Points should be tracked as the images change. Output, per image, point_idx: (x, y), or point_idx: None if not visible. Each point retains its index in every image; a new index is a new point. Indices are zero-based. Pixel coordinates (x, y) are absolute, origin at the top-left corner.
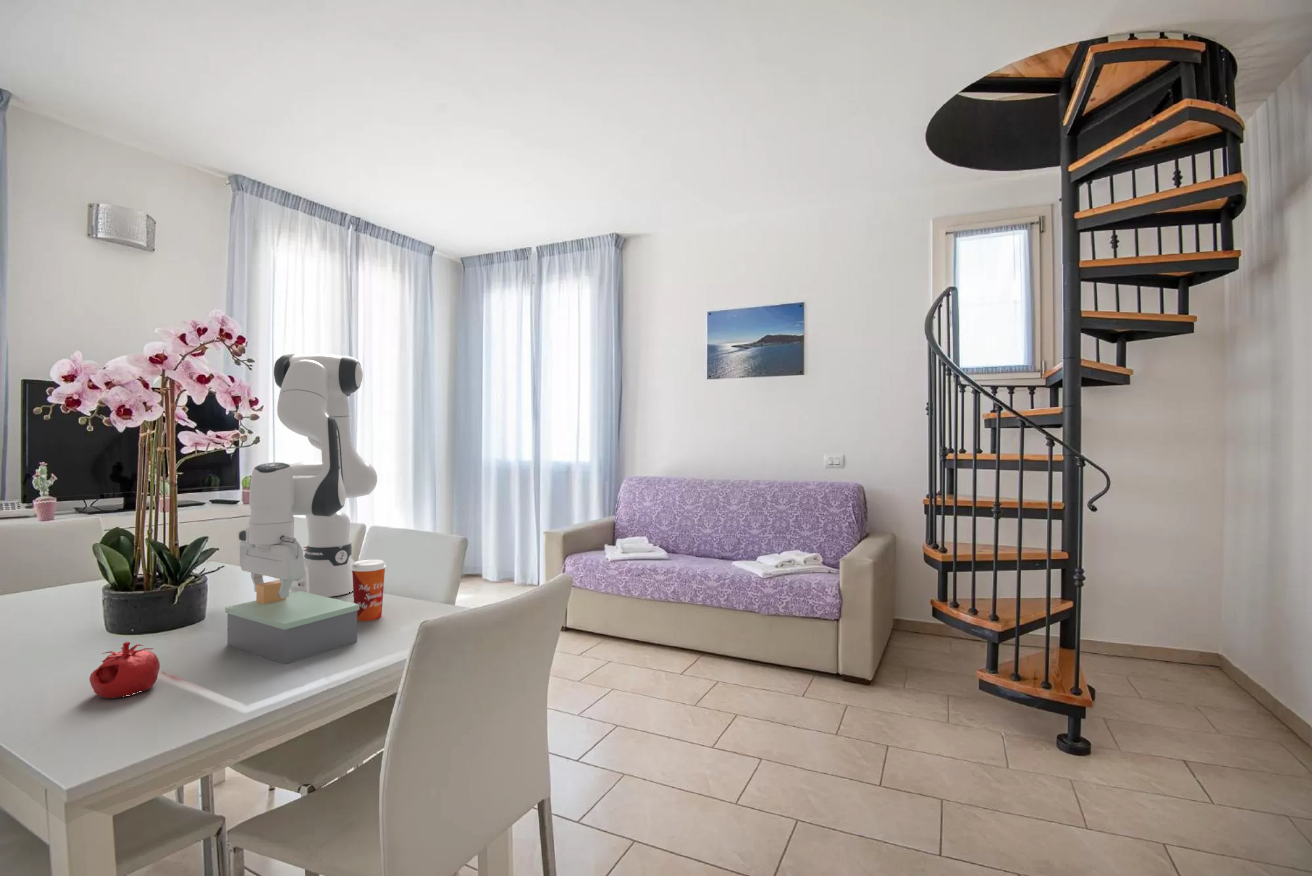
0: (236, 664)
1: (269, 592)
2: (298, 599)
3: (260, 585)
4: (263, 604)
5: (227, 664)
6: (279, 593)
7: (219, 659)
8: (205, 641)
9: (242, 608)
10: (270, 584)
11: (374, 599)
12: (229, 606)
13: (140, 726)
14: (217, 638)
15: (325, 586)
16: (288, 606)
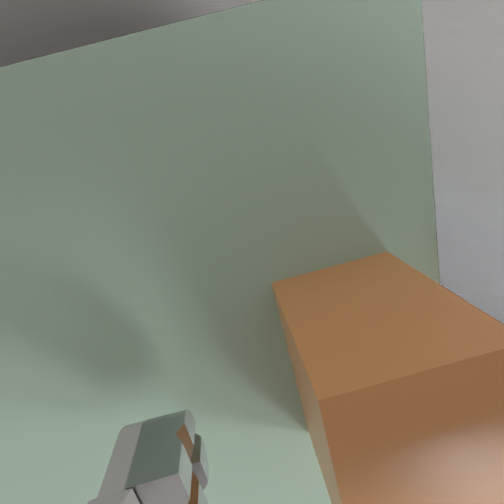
0: (29, 47)
1: (305, 385)
2: (223, 485)
3: (410, 371)
4: (254, 277)
5: (55, 12)
6: (140, 452)
7: (164, 3)
8: (498, 28)
9: (232, 92)
10: (354, 477)
11: None
12: (416, 8)
13: None
14: (497, 84)
15: None
16: (39, 406)
